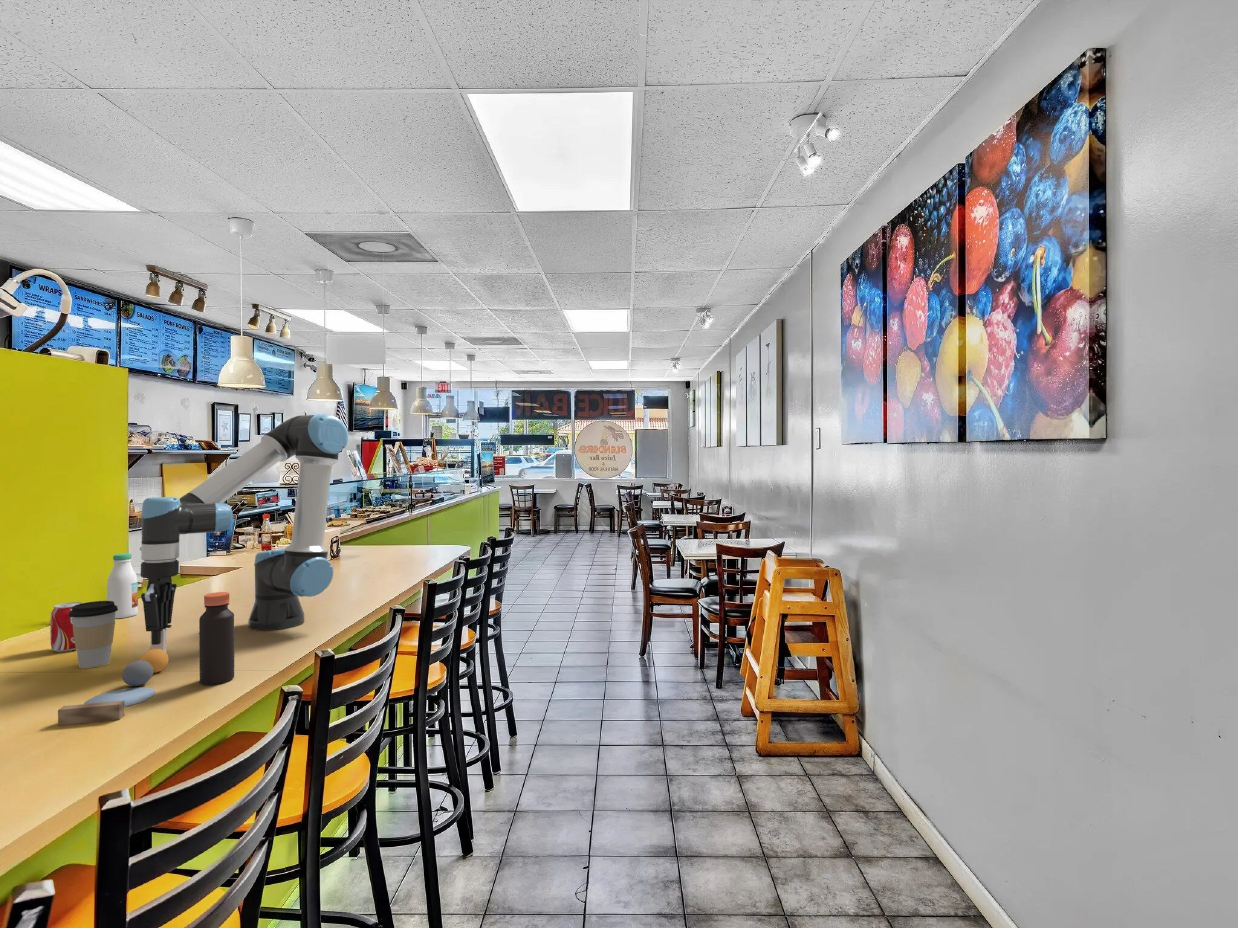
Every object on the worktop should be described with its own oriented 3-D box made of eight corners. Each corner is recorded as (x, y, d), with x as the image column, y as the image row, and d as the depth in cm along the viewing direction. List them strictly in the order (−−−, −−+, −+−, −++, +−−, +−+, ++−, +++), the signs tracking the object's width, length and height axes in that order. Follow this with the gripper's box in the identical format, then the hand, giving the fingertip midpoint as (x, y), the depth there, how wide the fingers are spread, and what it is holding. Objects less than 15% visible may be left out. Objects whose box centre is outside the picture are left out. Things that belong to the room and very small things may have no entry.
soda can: (64, 654, 160) (64, 608, 160) (43, 652, 162) (42, 606, 162) (92, 646, 167) (92, 602, 167) (72, 644, 169) (71, 600, 169)
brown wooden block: (124, 715, 123) (124, 700, 123) (119, 719, 121) (119, 704, 121) (64, 720, 121) (64, 705, 120) (58, 725, 119) (57, 709, 119)
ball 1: (157, 679, 143) (157, 656, 143) (146, 688, 137) (146, 664, 137) (129, 682, 141) (129, 658, 141) (117, 691, 136) (117, 666, 136)
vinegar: (210, 675, 146) (210, 591, 146) (240, 674, 146) (240, 590, 146) (192, 685, 139) (192, 597, 139) (223, 685, 139) (223, 597, 139)
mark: (165, 685, 139) (165, 685, 139) (139, 706, 127) (139, 705, 127) (101, 691, 136) (101, 690, 136) (69, 713, 124) (69, 712, 124)
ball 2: (171, 643, 150) (160, 654, 145) (174, 664, 151) (163, 675, 146) (145, 646, 149) (133, 656, 144) (148, 667, 150) (136, 678, 145)
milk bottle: (124, 619, 194) (124, 556, 194) (100, 619, 195) (100, 555, 194) (143, 613, 202) (143, 552, 202) (120, 612, 202) (120, 552, 202)
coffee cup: (127, 660, 156) (127, 601, 156) (84, 673, 147) (84, 610, 147) (102, 656, 159) (102, 598, 159) (59, 668, 150) (58, 607, 150)
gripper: (155, 556, 157) (153, 649, 156) (128, 564, 144) (126, 665, 144) (189, 556, 158) (187, 647, 158) (165, 563, 146) (163, 663, 146)
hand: (158, 656), depth 151 cm, fingers closed
